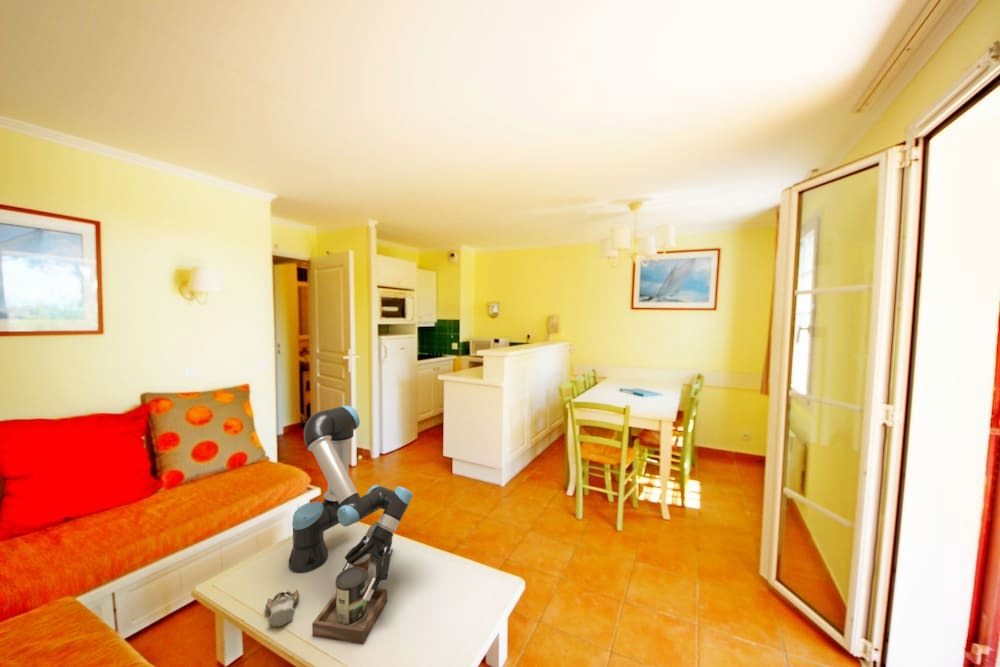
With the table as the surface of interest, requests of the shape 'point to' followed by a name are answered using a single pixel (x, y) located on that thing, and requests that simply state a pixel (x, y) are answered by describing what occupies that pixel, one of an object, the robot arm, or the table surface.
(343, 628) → the box
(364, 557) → the disposable coffee cup
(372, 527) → the decorative egg
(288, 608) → the ceramic sculpture
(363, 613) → the coffee can
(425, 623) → the table surface
